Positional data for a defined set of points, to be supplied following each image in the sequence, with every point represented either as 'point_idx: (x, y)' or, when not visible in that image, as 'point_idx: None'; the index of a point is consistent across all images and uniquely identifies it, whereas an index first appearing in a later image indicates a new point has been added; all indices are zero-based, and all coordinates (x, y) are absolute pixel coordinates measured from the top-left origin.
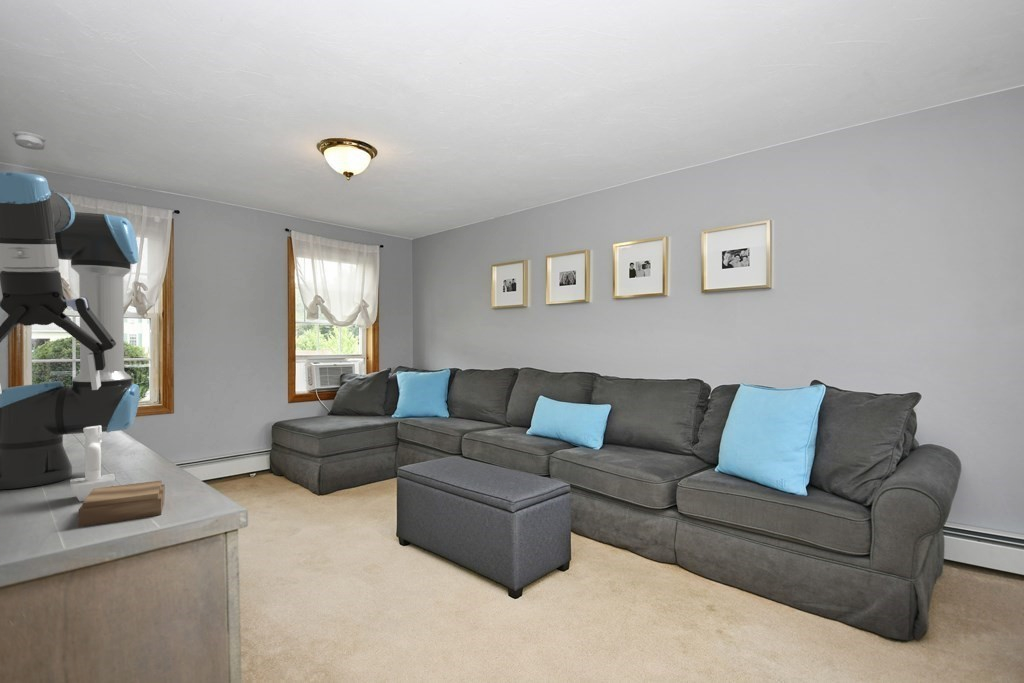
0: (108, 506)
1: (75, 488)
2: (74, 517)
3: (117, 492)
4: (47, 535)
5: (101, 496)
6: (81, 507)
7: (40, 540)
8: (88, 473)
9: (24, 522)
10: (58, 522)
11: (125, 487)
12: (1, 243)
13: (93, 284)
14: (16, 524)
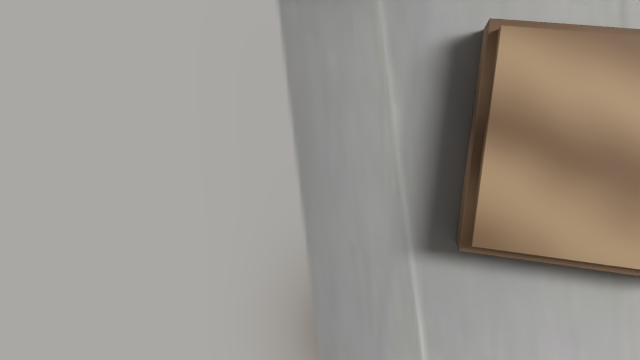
0: (541, 260)
1: None
2: (442, 112)
3: (577, 158)
4: (387, 270)
5: (526, 188)
6: (466, 224)
7: (375, 307)
8: None
9: (321, 75)
10: (404, 143)
11: (608, 89)
12: None
13: None
14: (304, 85)
